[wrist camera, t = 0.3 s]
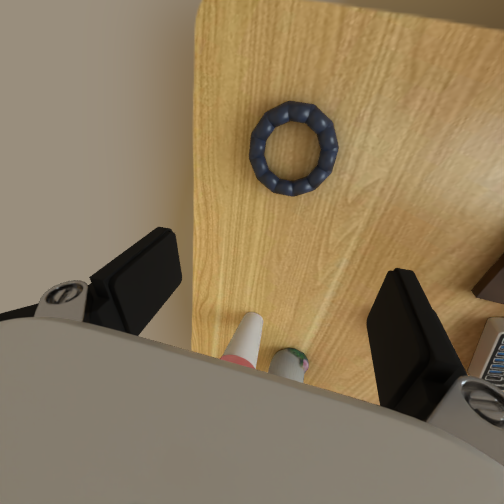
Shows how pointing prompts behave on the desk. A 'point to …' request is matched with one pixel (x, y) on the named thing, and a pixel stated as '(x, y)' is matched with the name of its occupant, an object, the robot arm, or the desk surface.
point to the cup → (245, 341)
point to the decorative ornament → (289, 364)
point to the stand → (492, 283)
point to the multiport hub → (490, 354)
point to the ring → (317, 124)
